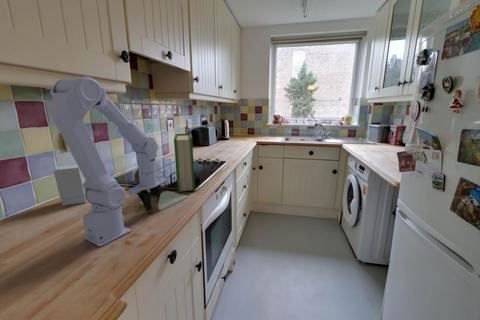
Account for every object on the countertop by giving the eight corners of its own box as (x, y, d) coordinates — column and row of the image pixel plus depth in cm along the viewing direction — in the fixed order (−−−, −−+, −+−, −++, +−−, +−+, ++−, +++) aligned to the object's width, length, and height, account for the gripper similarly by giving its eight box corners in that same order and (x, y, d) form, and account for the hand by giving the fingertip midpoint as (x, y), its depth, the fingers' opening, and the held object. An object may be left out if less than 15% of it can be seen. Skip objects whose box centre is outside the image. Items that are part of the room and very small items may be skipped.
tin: (140, 188, 107) (138, 170, 105) (134, 187, 108) (132, 170, 106) (157, 178, 121) (156, 163, 120) (152, 178, 122) (150, 162, 120)
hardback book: (195, 191, 102) (192, 138, 96) (177, 193, 100) (173, 138, 94) (193, 179, 118) (191, 133, 113) (179, 181, 117) (175, 134, 111)
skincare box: (89, 197, 96) (83, 163, 93) (85, 203, 90) (79, 167, 87) (65, 200, 93) (59, 165, 90) (60, 206, 88) (52, 169, 84)
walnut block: (152, 214, 81) (151, 198, 79) (145, 211, 83) (143, 196, 81) (158, 211, 83) (157, 196, 81) (151, 209, 85) (149, 194, 83)
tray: (160, 210, 83) (160, 208, 83) (139, 203, 89) (139, 201, 89) (187, 197, 95) (187, 195, 95) (167, 192, 101) (167, 190, 101)
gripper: (157, 165, 87) (160, 198, 90) (121, 174, 75) (126, 212, 78) (170, 167, 84) (173, 202, 87) (134, 178, 72) (139, 217, 75)
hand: (151, 207), depth 82 cm, fingers open, 3 cm apart
